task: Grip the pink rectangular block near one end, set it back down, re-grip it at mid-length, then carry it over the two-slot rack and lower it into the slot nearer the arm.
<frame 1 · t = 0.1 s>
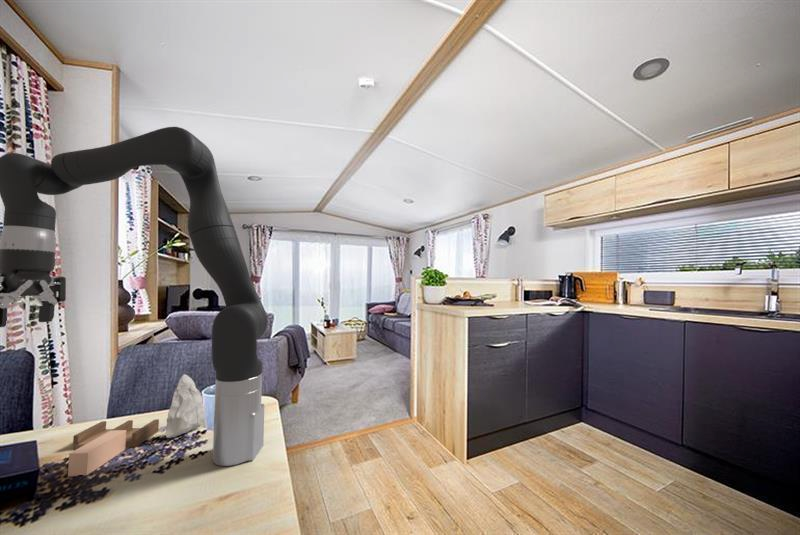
hand: (23, 324, 62), 29 cm above the table, tool pointing down, fingers open, 8 cm apart
pink rectangular block: (98, 462, 62), on the table
stone tool: (185, 435, 73), on the table
rack: (118, 439, 70), on the table
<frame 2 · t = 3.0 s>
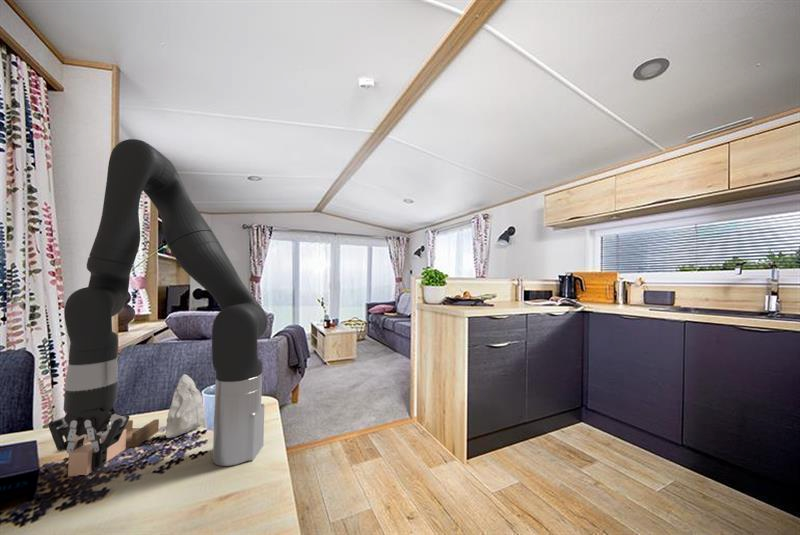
hand: (87, 468, 59), 0 cm above the table, tool pointing down, fingers closed on pink rectangular block, 3 cm apart
pink rectangular block: (98, 461, 62), on the table, touching gripper
everything else where it was.
when the fingers open (1 cm above the table, at t = 4.9 s): pink rectangular block stays where it is, on the table.
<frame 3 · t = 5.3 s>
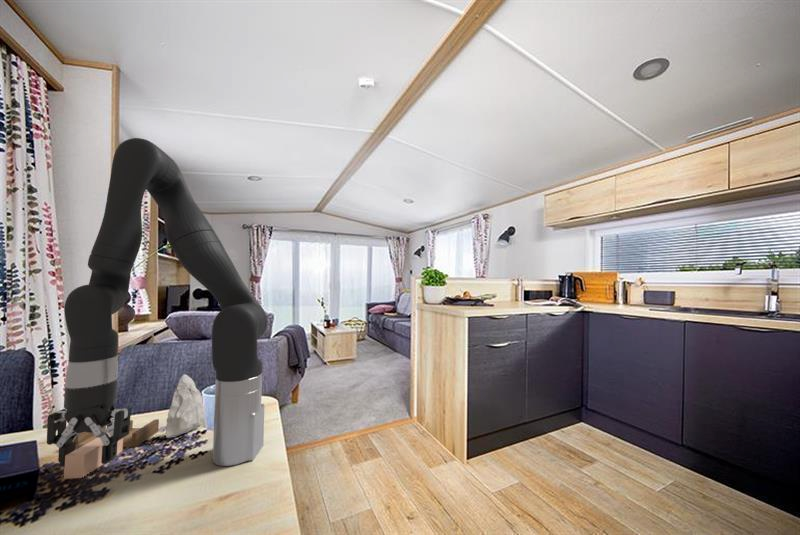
hand: (87, 462, 59), 1 cm above the table, tool pointing down, fingers open, 7 cm apart
pink rectangular block: (95, 464, 61), on the table
everything else where it was.
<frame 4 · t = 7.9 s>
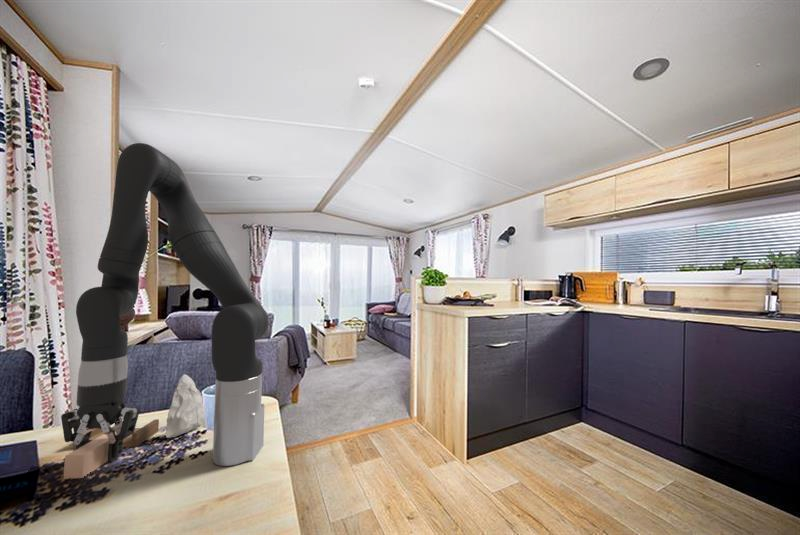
hand: (98, 459, 62), 0 cm above the table, tool pointing down, fingers open, 5 cm apart
nothing on the table moved.
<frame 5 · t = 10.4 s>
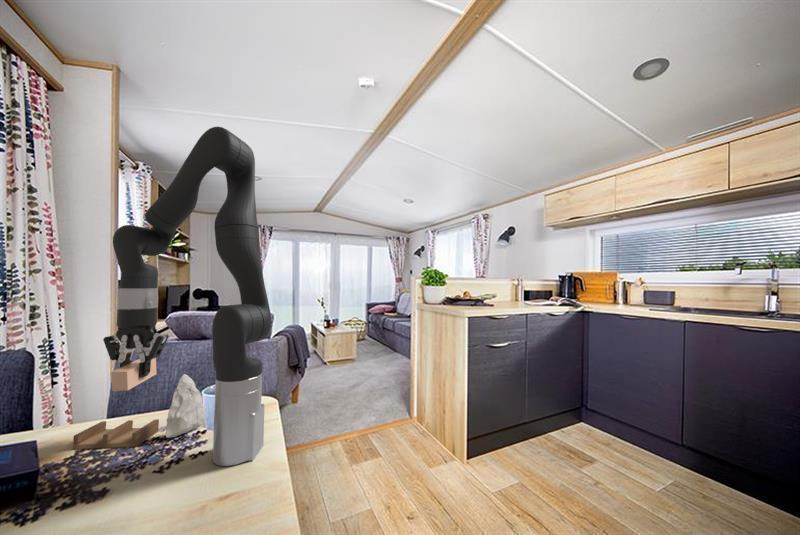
hand: (134, 376, 71), 15 cm above the table, tool pointing down, fingers closed on pink rectangular block, 3 cm apart
pink rectangular block: (135, 382, 72), point 14 cm above the table, tilted 6°, touching gripper
everything else where it was.
when the fingers open (4 cm above the table, at t = 12.7 s): pink rectangular block drops 2 cm, resting on rack.
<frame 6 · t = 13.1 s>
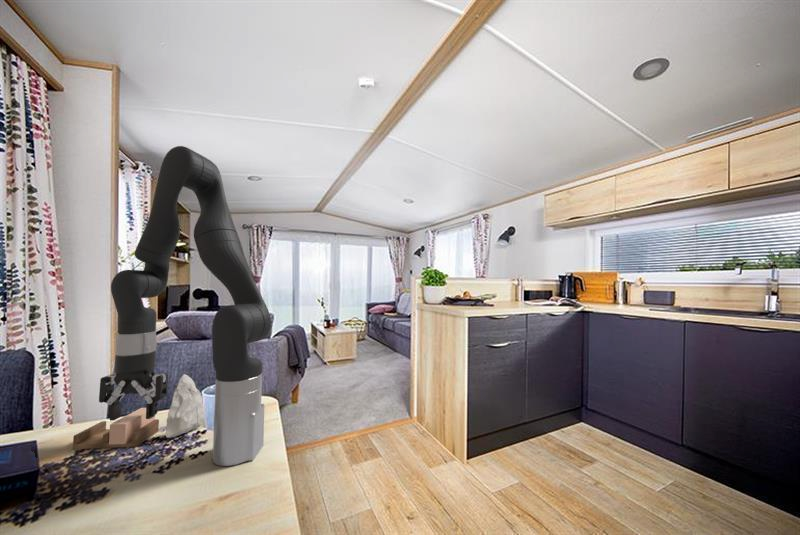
hand: (132, 418, 71), 5 cm above the table, tool pointing down, fingers open, 7 cm apart
pink rectangular block: (133, 434, 71), point 1 cm above the table, touching rack
everything else where it was.
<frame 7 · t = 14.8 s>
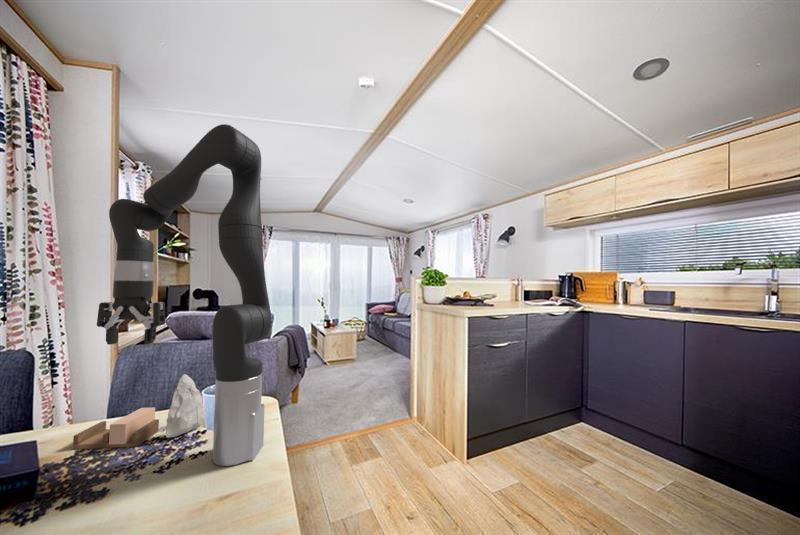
hand: (130, 343, 73), 23 cm above the table, tool pointing down, fingers open, 8 cm apart
nothing on the table moved.
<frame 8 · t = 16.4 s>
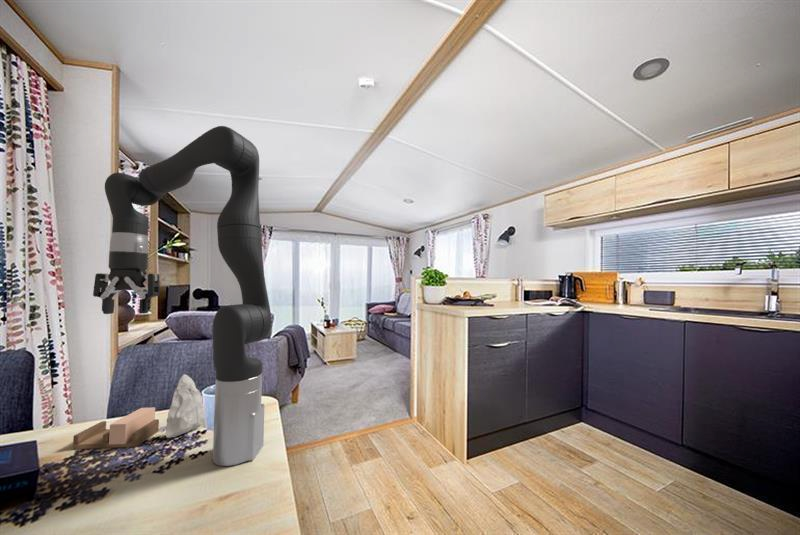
hand: (126, 313, 75), 30 cm above the table, tool pointing down, fingers open, 8 cm apart
nothing on the table moved.
at the end: pink rectangular block inside the target area on the rack (0.4 cm from its centre), point 1.0 cm above the rack's base; pink rectangular block tilted 0°; the gripper is holding nothing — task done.
